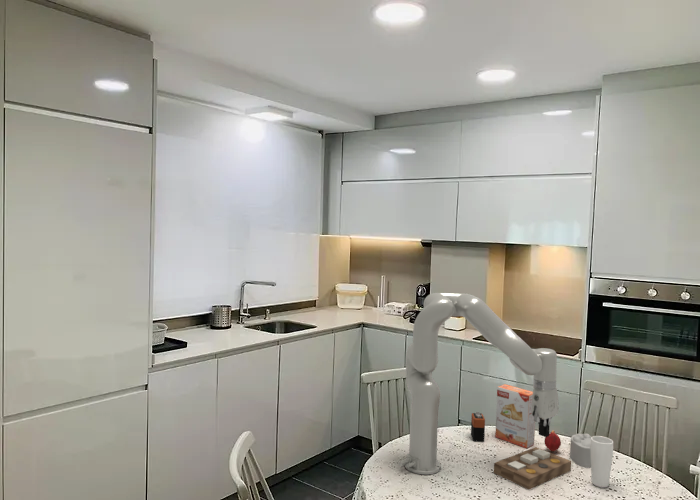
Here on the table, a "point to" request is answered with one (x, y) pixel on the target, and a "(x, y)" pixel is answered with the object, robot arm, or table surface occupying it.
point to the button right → (541, 454)
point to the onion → (552, 441)
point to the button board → (532, 469)
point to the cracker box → (515, 416)
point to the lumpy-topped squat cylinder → (581, 450)
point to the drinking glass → (601, 460)
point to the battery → (477, 427)
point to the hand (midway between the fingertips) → (543, 435)
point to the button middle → (529, 459)
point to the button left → (516, 465)
